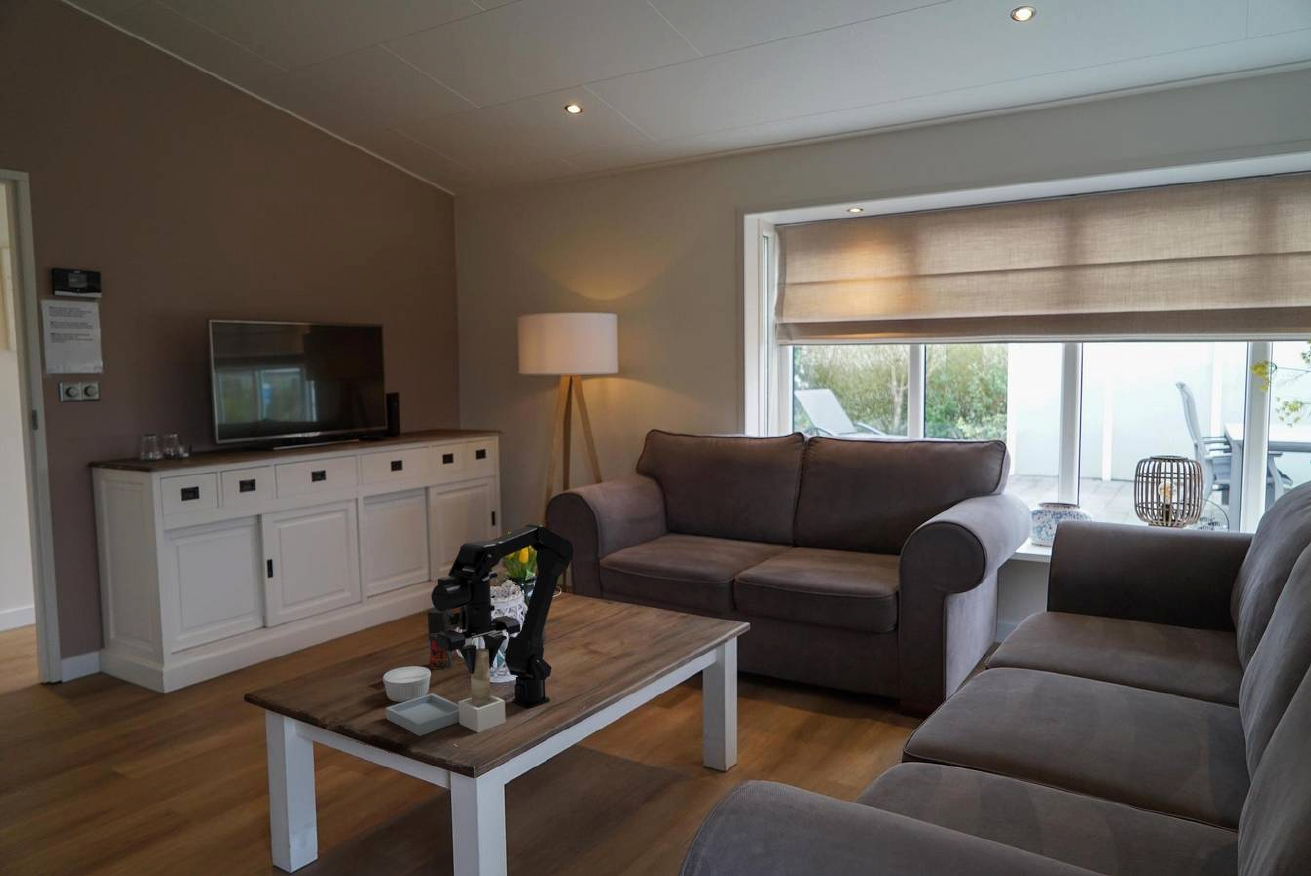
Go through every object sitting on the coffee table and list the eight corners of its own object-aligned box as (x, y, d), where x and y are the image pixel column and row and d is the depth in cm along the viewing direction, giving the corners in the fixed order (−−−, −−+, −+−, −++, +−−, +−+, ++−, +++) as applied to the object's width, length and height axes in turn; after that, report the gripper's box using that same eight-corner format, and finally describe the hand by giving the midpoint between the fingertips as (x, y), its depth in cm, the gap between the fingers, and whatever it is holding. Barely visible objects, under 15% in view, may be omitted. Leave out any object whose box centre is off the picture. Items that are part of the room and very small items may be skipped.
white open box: (486, 714, 202) (485, 692, 202) (505, 722, 197) (504, 700, 197) (459, 723, 197) (458, 701, 197) (478, 732, 192) (477, 710, 192)
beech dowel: (483, 695, 200) (481, 647, 199) (494, 699, 197) (492, 650, 196) (468, 700, 197) (466, 651, 196) (478, 704, 194) (477, 655, 193)
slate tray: (432, 703, 210) (432, 693, 209) (467, 719, 200) (466, 708, 200) (386, 718, 201) (385, 708, 201) (419, 735, 191) (418, 724, 191)
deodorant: (425, 666, 236) (423, 610, 235) (445, 660, 240) (443, 605, 239) (437, 671, 232) (435, 614, 231) (457, 665, 236) (455, 609, 235)
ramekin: (405, 707, 208) (404, 685, 207) (373, 698, 214) (372, 676, 214) (441, 692, 217) (440, 671, 217) (410, 683, 223) (409, 663, 223)
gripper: (491, 587, 207) (493, 653, 209) (419, 603, 194) (422, 673, 195) (520, 595, 200) (523, 663, 201) (448, 612, 186) (451, 685, 188)
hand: (480, 671), depth 196 cm, fingers closed on beech dowel, 4 cm apart
